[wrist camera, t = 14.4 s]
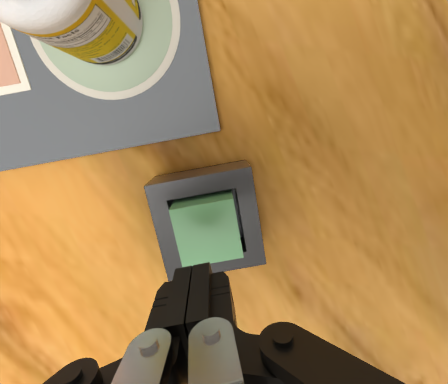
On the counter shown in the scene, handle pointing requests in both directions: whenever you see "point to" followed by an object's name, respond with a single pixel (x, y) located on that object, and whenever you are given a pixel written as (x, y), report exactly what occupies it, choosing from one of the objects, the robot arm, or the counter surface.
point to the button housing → (198, 185)
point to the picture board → (105, 91)
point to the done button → (206, 228)
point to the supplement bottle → (79, 26)
